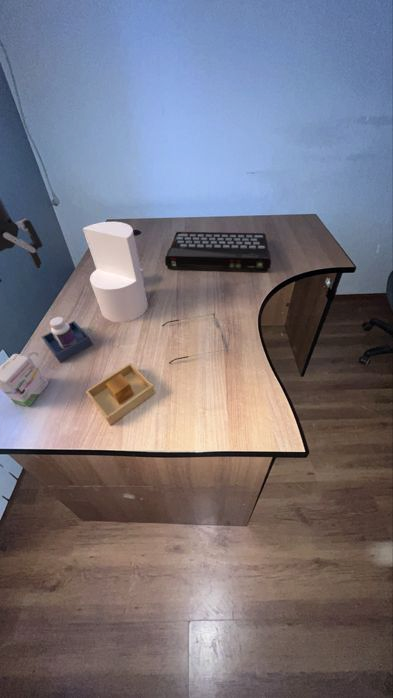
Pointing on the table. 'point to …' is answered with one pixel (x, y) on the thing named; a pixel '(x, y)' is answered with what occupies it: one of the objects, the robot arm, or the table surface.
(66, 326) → the pill bottle
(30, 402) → the ink box
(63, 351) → the slate bin
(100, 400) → the sand bin
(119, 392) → the ochre block
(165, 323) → the eyeglasses
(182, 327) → the table surface
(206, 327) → the table surface
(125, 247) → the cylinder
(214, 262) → the computer keyboard
